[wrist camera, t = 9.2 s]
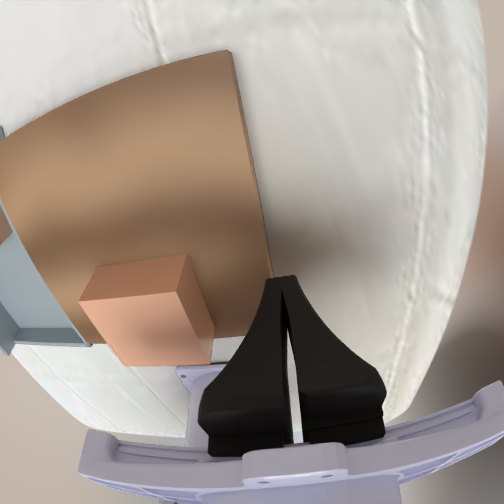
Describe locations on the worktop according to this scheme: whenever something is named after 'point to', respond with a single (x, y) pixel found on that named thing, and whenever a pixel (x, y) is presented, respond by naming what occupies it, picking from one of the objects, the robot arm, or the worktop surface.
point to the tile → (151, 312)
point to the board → (143, 188)
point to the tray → (29, 301)
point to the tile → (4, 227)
